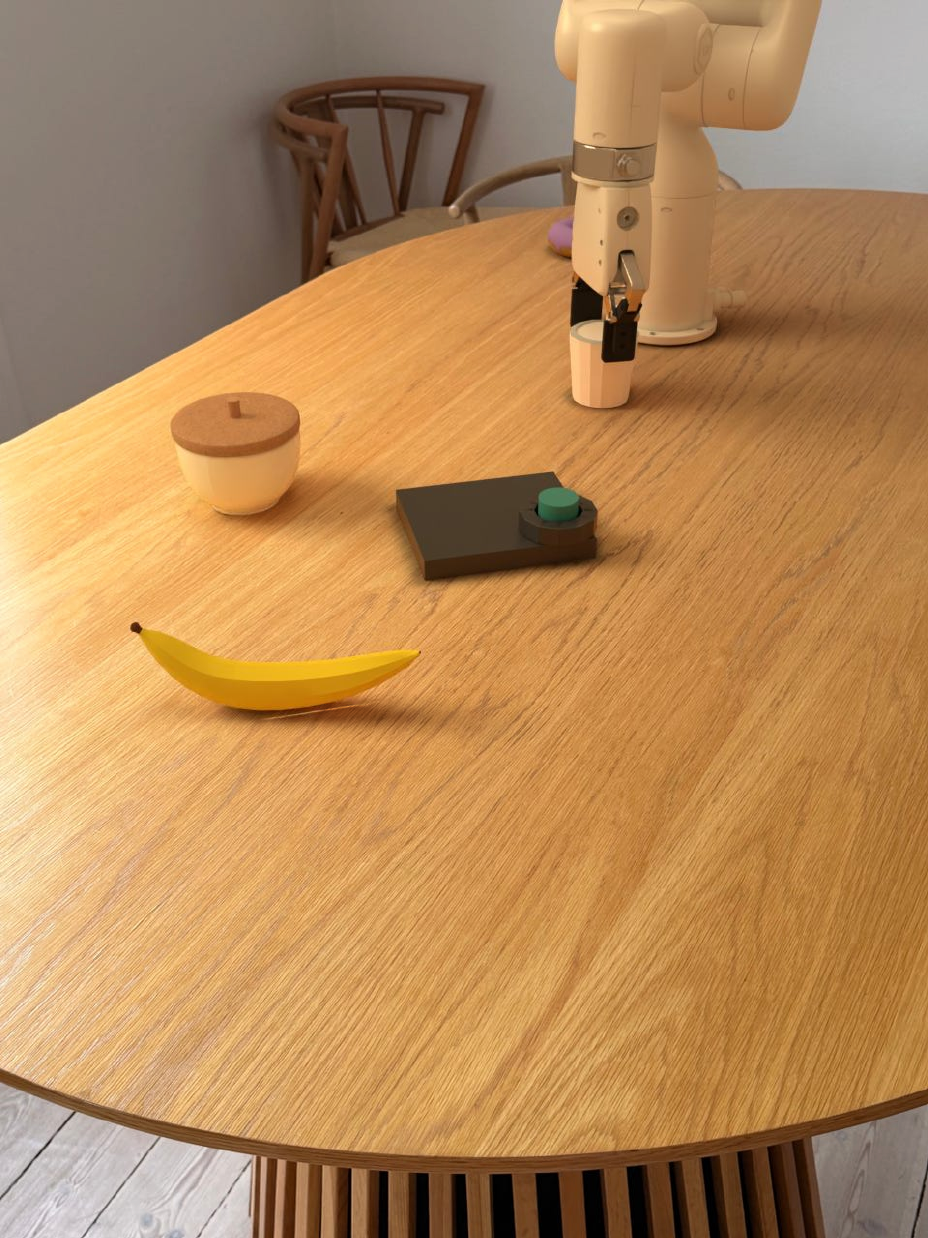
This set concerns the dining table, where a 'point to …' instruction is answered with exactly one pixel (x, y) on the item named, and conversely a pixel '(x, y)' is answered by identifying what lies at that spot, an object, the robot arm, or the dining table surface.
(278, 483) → the cream bowl with lid
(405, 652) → the banana
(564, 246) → the donut
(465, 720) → the dining table surface
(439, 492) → the scale
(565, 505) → the button
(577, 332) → the cream tapered cup
